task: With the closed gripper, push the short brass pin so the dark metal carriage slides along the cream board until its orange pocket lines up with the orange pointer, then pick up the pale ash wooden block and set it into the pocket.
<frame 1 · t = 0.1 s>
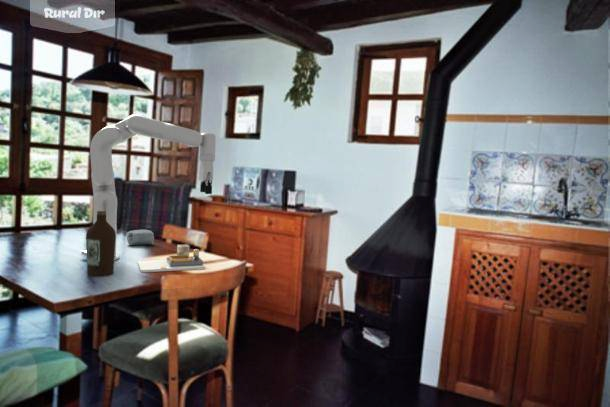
hand: (205, 192, 210), 31 cm above the table, fingers open, 9 cm apart
carriage: (184, 256, 189), point 4 cm above the table, slide at 0.0 cm
link block: (182, 257, 203), on the table
rolled grey towel: (140, 245, 227), on the table
olive oil: (100, 274, 169), on the table
index board: (170, 266, 186), on the table
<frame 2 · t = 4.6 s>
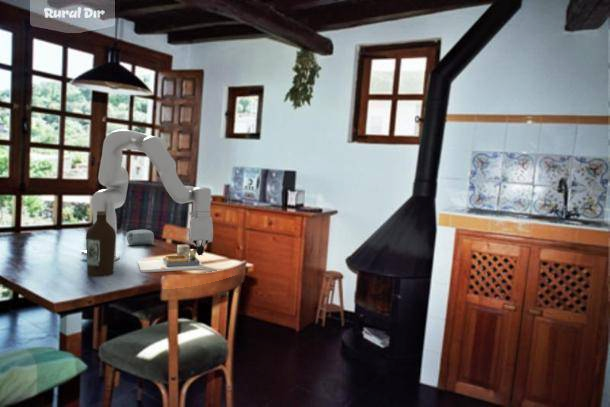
hand: (200, 254, 192), 5 cm above the table, fingers closed
carriage: (181, 256, 188), point 4 cm above the table, slide at 1.5 cm, touching gripper
everything else where it was.
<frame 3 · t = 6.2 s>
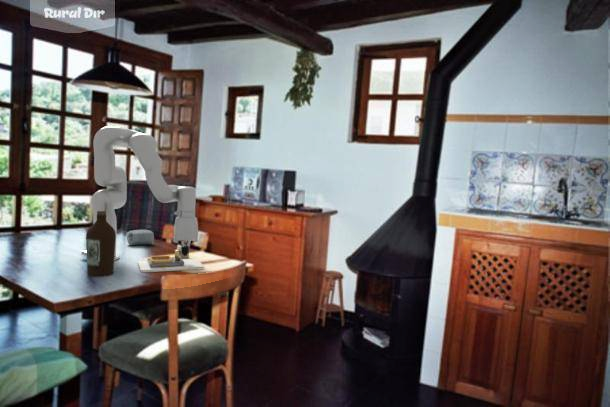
hand: (184, 255, 189), 5 cm above the table, fingers closed
carriage: (165, 257, 185), point 4 cm above the table, slide at 8.2 cm, touching gripper
everything else where it was.
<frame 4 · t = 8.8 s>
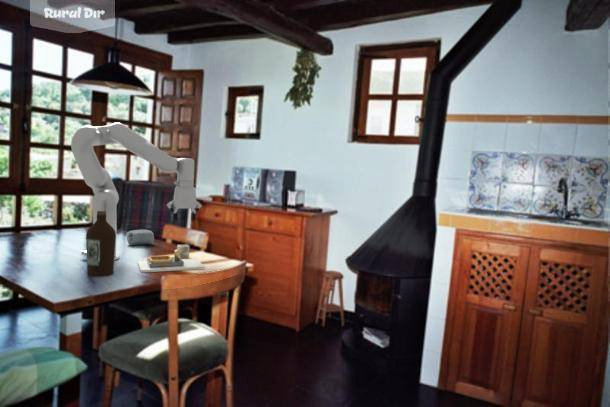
hand: (184, 221, 202), 18 cm above the table, fingers open, 7 cm apart
carriage: (165, 257, 185), point 4 cm above the table, slide at 8.3 cm
everything else where it was.
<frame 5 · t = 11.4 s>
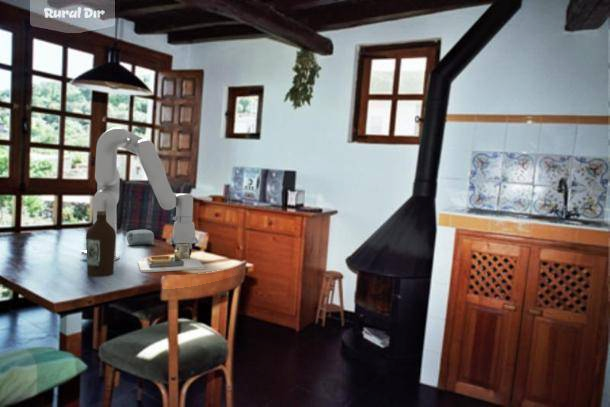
hand: (182, 256, 203), 1 cm above the table, fingers closed on link block, 4 cm apart
link block: (182, 257, 203), on the table, touching gripper
everything else where it was.
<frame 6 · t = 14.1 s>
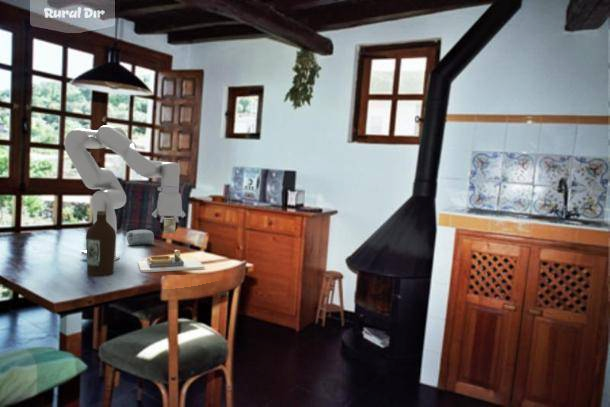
hand: (168, 230, 188), 15 cm above the table, fingers closed on link block, 4 cm apart
link block: (168, 232, 189), point 15 cm above the table, touching gripper
everything else where it was.
when the fingers open (5 cm above the table, at t = 16.8 s): link block drops 2 cm, resting on carriage.
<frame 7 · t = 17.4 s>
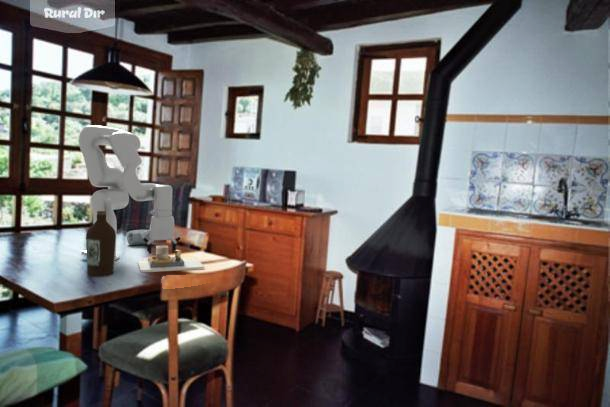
hand: (161, 252, 184), 6 cm above the table, fingers open, 9 cm apart
carriage: (166, 257, 185), point 4 cm above the table, slide at 8.0 cm, touching gripper, link block
link block: (161, 260, 184), point 3 cm above the table, touching carriage
everything else where it was.
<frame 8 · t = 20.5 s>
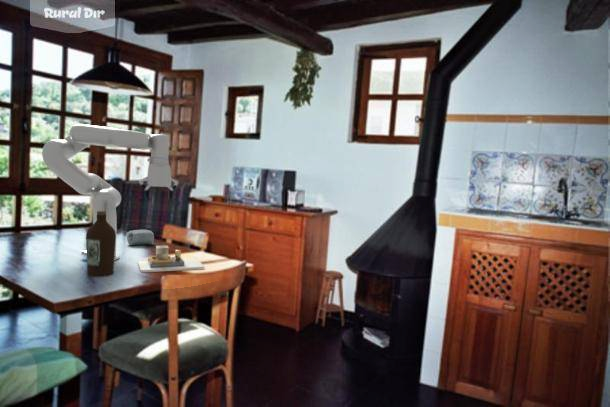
hand: (158, 199, 194), 28 cm above the table, fingers open, 9 cm apart
carriage: (166, 257, 185), point 4 cm above the table, slide at 8.0 cm, touching link block
everything else where it was.
at the end: carriage slide at 8.0 cm; link block 0.2 cm from the target spot, point 2.8 cm above the table; link block tilted 0° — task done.
